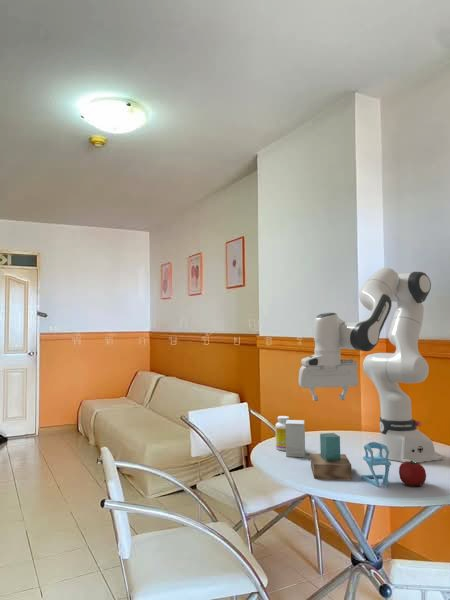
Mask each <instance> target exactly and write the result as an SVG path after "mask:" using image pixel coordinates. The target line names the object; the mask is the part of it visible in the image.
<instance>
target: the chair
mask: <svg viewBox="0 0 450 600" xmlns="http://www.w3.org/2000/svg"><path fill="white" fill-rule="evenodd" d="M363 449H364V451H365V455H364V456H363V457H362V460H364V461H365V463H366V464H367V466H368V467H369V470H370V472H371V474H364V475H360V479H361V480H363V481H365V482H367V483H370V484H372V485H373V486H375V487H377V488H380V482H379V479H382V484H383V486H384V487H387V488H388V480H389V475H390V474H389V472H390V467H391V465H392V462H391V461H389V460H390V459H388V455H389V450H388V448H387V446H385V445H383V444H380V442H376V441H372V442H368V443H367V444H365V445H363ZM373 449H378V450H379V449H380V452H379V455H376V456H374V451H373ZM382 449H385V451H386V453H387V454H386V457H385V458H384V457H383V456H382ZM369 454H370V456H369ZM373 466H376V467H377V466H385V468H384V469H385V471H384V474H376V473H375V471H374V467H373Z"/></svg>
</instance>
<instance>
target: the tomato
mask: <svg viewBox="0 0 450 600" xmlns="http://www.w3.org/2000/svg"><path fill="white" fill-rule="evenodd" d="M398 475H399V479H400V480H401V482H402V483H403V484H404V485H405V486H410V487H412V486H413V487H421V485H424V484H425V482H427V473H426V469H425V468H424V466H423V465H422V464H421V463H420V462H417V463H415V462H413V461H410V462H408V461H406V462H401V464H400V465H399V467H398Z"/></svg>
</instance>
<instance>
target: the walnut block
mask: <svg viewBox="0 0 450 600" xmlns="http://www.w3.org/2000/svg"><path fill="white" fill-rule="evenodd" d="M340 458H341V461H329V462H326V461H325V460H324V459H322V458H321V453H310V468H311V473H312V477H313V479H315V480H316V479H317V480H345V481H346V480H348V481H349V480H352V479H353V476H352V475H353V473H352V471H353V470H352V463H351V462H350V460H349V458H348V456H347V455H346V454H345V453H340Z"/></svg>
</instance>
